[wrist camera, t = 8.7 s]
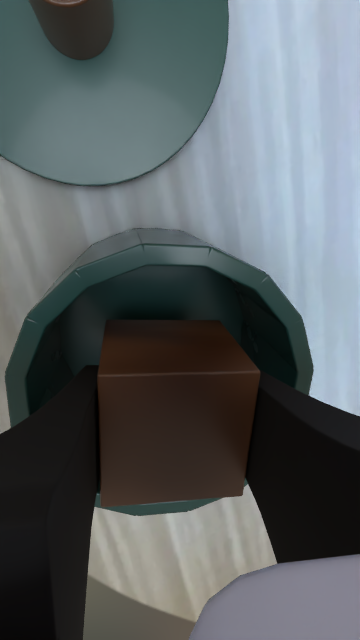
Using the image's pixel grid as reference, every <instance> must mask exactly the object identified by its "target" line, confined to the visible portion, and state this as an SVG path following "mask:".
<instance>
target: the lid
mask: <svg viewBox="0 0 360 640" xmlns="http://www.w3.org/2000/svg"><path fill="white" fill-rule="evenodd" d="M228 24H229V12H228V0H0V155H1V156H2V157H4V158H5V159H7V160H8V161H10V162H12V163H14V164H15V165H17V166H19V167H21V168H23V169H24V170H26V171H29V172H31V173H34V174H36V175H39V176H41V177H43V178H46V179H50V180H54V181H57V182H61V183H65V184H72V185H80V186H105V185H112V184H119V183H122V182H125V181H129V180H132V179H136V178H138V177H140V176H142V175H144V174H147V173H149V172H151V171H152V170H154V169H156V168H157V167H159V166H160V165H162V164H163V163H165V162H166V161H167V160H169V159H170V158H171V157H172V156H173V155H174V154H176V153H177V152H178V151H179V150H180V149H181V148H182V147H183V146H184V145H185V144H186V142H187V141H188V140H189V139H190V138H191V137H192V136H193V134H194V133H195V131H196V130H197V128H198V127H199V126H200V124H201V123H202V121H203V120H204V118H205V116H206V114H207V112H208V110H209V108H210V106H211V104H212V102H213V99H214V97H215V94H216V91H217V89H218V86H219V83H220V80H221V76H222V72H223V68H224V64H225V58H226V50H227V43H228Z"/></svg>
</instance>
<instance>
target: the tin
mask: <svg viewBox="0 0 360 640" xmlns="http://www.w3.org/2000/svg"><path fill="white" fill-rule="evenodd" d="M106 320H220V321H221V323H222V324H223V325H224V326H225V328H226V329H227V330H228V331H229V333H230V334H231V335H232V336H233V338H234V339H235V340H236V342H237V343H238V344H239V345H240V347H241V348H242V349H243V350H244V352H245V353H246V354H247V355H248V357H249V358H250V359H251V360H252V362H253V363H254V364H255V365H256V367H257V368H258V369H259V370H261V371H263V372H265V373H267V374H268V375H270V376H272V377H274V378H276V379H277V380H279V381H281V382H283V383H285V384H287V385H288V386H290V387H292V388H294V389H296V390H298V391H300V392H302V393H304V394H306V395H309V390H310V385H311V380H312V375H313V363H312V358H311V354H310V349H309V345H308V341H307V336H306V332H305V327H304V323H303V319H302V317H301V315H300V314H299V313H298V311H297V310H296V309H295V308H294V306H293V305H292V304H291V303H290V301H289V300H288V299H287V297H286V296H285V295H284V294H283V292H282V291H281V290H280V289H279V287H278V286H277V285H276V284H275V282H274V281H273V280H272V279H271V277H270V276H269V275H267V274H266V273H265V272H263V271H261V270H260V269H258V268H256V267H254V266H252V265H250V264H248V263H246V262H244V261H242V260H240V259H238V258H236V257H234V256H232V255H230V254H228V253H226V252H224V251H222V250H220V249H218V248H216V247H214V246H212V245H210V244H208V243H206V242H204V241H202V240H200V239H198V238H196V237H194V236H192V235H190V234H188V233H186V232H184V231H180V230H168V229H160V228H147V229H144V228H137V229H132V230H129V231H126V232H123V233H120V234H116V235H114V236H111V237H109V238H107V239H105V240H103V241H100V242H97V243H95V244H93V245H91V246H90V247H89V248H88V249H87V250H86V251H85V252H84V253H83V254H82V255H81V256H80V257H79V258H78V259H77V260H76V261H75V262H74V263H73V264H72V265H71V266H70V267H69V268H68V269H67V270H66V271H65V272H64V273H63V274H62V275H61V276H60V277H59V278H58V279H57V280H56V282H55V283H54V284H53V285H52V286H51V287H50V289H49V290H48V291H47V292H46V293H45V294H44V296H43V297H42V298H41V299H40V300H39V302H38V303H37V304H36V305H35V306H34V307H33V309H32V310H31V311H30V312H29V313H28V315H27V317H26V318H25V320H24V323H23V325H22V328H21V331H20V333H19V336H18V339H17V341H16V344H15V347H14V350H13V352H12V355H11V358H10V360H9V363H8V366H7V368H6V371H5V383H6V391H7V400H8V408H9V416H10V424H11V428H12V427H14V426H15V425H17V424H18V423H20V422H21V421H23V420H24V419H26V418H27V417H29V416H30V415H32V414H33V413H34V412H36V411H37V410H39V409H40V408H41V407H42V406H44V405H45V404H46V403H47V402H48V401H49V400H51V399H52V398H53V397H54V396H55V395H57V394H58V393H59V392H60V391H61V390H62V389H63V388H64V387H65V386H66V385H67V384H68V383H69V382H70V381H71V380H72V379H73V378H74V377H75V376H76V375H77V374H78V373H79V372H80V371H81V370H82V369H83V368H84V367H85V366H86V365H99V362H100V355H101V349H102V343H103V336H104V330H105V324H106ZM247 484H248V482H247V480H246V478H245V482H244V487H245V486H246V485H247ZM223 498H224V497H223ZM219 499H221V498H210V499H198V500H186V501H174V502H162V503H149V504H137V505H125V506H113V507H101V505H100V478H99V484H98V489H97V495H96V500H95V506H94V507H98V508H103V509H107V510H112V511H116V512H120V513H125V514H129V515H134V516H136V515H137V516H143V515H154V514H166V513H177V512H187V511H188V510H189V511H191V510H194V509H196V508H199V507H201V506H204V505H206V504H209V503H211V502H214V501H216V500H219Z"/></svg>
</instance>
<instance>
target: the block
mask: <svg viewBox="0 0 360 640" xmlns="http://www.w3.org/2000/svg"><path fill="white" fill-rule="evenodd" d="M259 380H260V371H259V369H258V368H257V367H256V365H255V364H254V363H253V362H252V360H251V359H250V358H249V357H248V355H247V354H246V353H245V352H244V350H243V349H242V348H241V347H240V345H239V344H238V343H237V342H236V340H235V339H234V338H233V336H232V335H231V334H230V333H229V331H228V330H227V329H226V328H225V326H224V325H223V324H222V323H221V321H220V320H106V324H105V330H104V336H103V343H102V349H101V355H100V362H99V368H98V375H97V387H98V429H99V470H100V505H101V507H113V506H125V505H137V504H149V503H162V502H174V501H186V500H198V499H210V498H223V497H235V496H242V495H243V489H244V482H245V475H246V468H247V461H248V455H249V448H250V441H251V434H252V427H253V421H254V414H255V407H256V400H257V393H258V386H259Z"/></svg>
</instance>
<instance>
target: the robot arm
mask: <svg viewBox="0 0 360 640" xmlns="http://www.w3.org/2000/svg"><path fill="white" fill-rule="evenodd" d="M98 368H99V365H86V366H85V367H84V368H83V369H82V370H81V371H80V372H79V373H78V374H77V375H76V376H75V377H74V378H73V379H72V380H71V381H70V382H69V383H68V384H67V385H66V386H65V387H64V388H63V389H62V390H61V391H60V392H59V393H58V394H57V395H55V396H54V397H53V398H52V399H51V400H49V401H48V402H47V403H46V404H45V405H44V406H42V407H41V408H40V409H39V410H37V411H36V412H34V413H33V414H32V415H30V416H29V417H27V418H26V419H24V420H23V421H21V422H20V423H18V424H17V425H15V426H14V427H12V428H10V429H9V430H7V431H5V432H3V433H1V434H0V640H83V627H84V614H85V599H86V586H87V574H88V561H89V549H90V537H91V526H92V519H93V511H94V506H95V500H96V495H97V489H98V484H99V478H100V470H99V429H98V387H97V375H98ZM259 371H260V380H259V386H258V393H257V400H256V407H255V414H254V421H253V427H252V434H251V441H250V448H249V455H248V461H247V468H246V475H245V478H246V480H247V482H248V485H249V487H250V489H251V491H252V493H253V495H254V498H255V500H256V502H257V505H258V507H259V510H260V512H261V515H262V518H263V521H264V524H265V527H266V530H267V533H268V536H269V539H270V542H271V545H272V548H273V551H274V554H275V557H276V561H277V564H276V565H273V566H269V567H266V568H263V569H260V570H256V571H253V572H250V573H247V574H243V575H240V576H239V577H237V578H236V579H235V580H233V581H232V582H231V583H230V584H228V585H227V586H226V587H224V588H223V589H222V590H220V591H219V592H218V593H217V594H215V595H214V596H213V597H211V598H210V599H209V600H208V601H207V603H206V604H205V606H204V608H203V610H202V612H201V614H200V616H199V618H198V620H197V622H196V624H195V627H194V629H193V631H192V633H191V635H190V637H189V640H360V417H359V416H357V415H354V414H351V413H348V412H346V411H343V410H341V409H338V408H336V407H333V406H330V405H328V404H326V403H323V402H321V401H319V400H317V399H315V398H312V397H310V396H308V395H306V394H304V393H302V392H300V391H298V390H296V389H294V388H292V387H290V386H288V385H287V384H285V383H283V382H281V381H279V380H277V379H276V378H274V377H272V376H270V375H268V374H267V373H265V372H263V371H261V370H259Z"/></svg>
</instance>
